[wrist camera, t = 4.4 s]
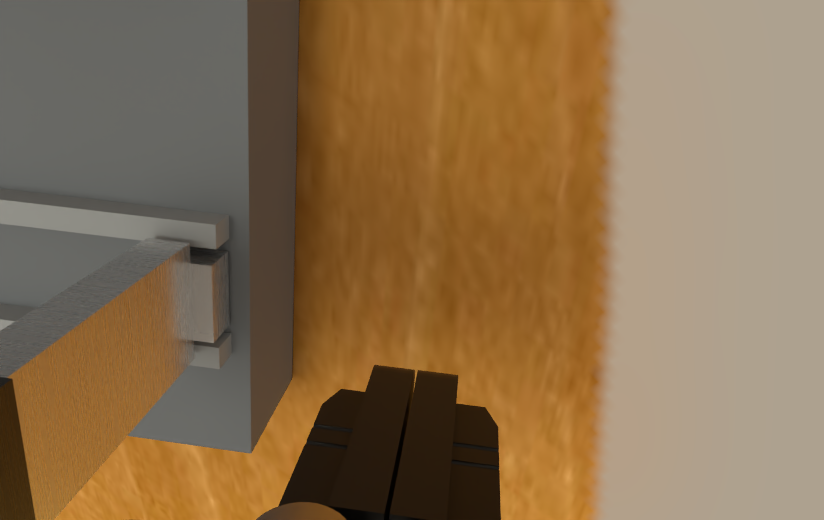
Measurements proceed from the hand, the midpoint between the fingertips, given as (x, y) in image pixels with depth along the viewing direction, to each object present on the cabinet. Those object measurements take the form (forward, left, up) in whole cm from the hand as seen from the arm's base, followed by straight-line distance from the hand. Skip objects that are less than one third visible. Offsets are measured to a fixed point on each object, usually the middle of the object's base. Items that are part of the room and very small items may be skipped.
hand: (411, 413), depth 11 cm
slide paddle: (0, -6, -4) cm, 8 cm away
